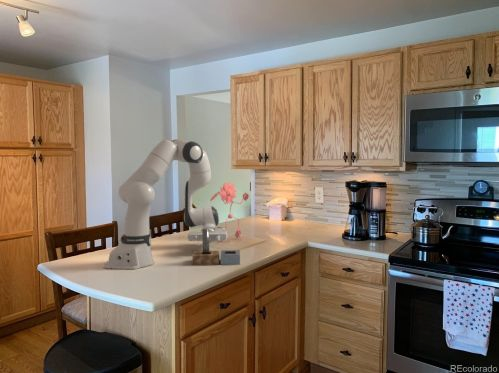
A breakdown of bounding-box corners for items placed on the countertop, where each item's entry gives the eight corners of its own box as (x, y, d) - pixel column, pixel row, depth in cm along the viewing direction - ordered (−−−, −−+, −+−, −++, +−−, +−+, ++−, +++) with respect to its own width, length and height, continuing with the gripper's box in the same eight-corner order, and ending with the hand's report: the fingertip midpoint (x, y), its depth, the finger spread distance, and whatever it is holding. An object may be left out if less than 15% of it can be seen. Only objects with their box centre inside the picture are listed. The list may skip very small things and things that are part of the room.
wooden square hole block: (192, 265, 178) (192, 255, 178) (194, 260, 187) (194, 251, 187) (218, 264, 178) (218, 255, 178) (219, 259, 187) (219, 250, 187)
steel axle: (202, 263, 181) (201, 229, 180) (203, 261, 184) (202, 228, 183) (209, 263, 181) (208, 229, 180) (209, 261, 184) (209, 228, 183)
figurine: (253, 238, 236) (251, 181, 234) (218, 245, 219) (216, 183, 217) (237, 235, 247) (235, 181, 245) (203, 241, 231) (201, 183, 229)
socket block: (220, 264, 178) (220, 255, 178) (221, 259, 187) (221, 250, 187) (240, 264, 179) (239, 254, 178) (239, 259, 188) (239, 250, 187)
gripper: (188, 228, 203) (185, 233, 190) (227, 227, 204) (227, 232, 190) (189, 240, 204) (185, 245, 190) (227, 239, 205) (227, 245, 191)
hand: (206, 239), depth 190 cm, fingers open, 8 cm apart
